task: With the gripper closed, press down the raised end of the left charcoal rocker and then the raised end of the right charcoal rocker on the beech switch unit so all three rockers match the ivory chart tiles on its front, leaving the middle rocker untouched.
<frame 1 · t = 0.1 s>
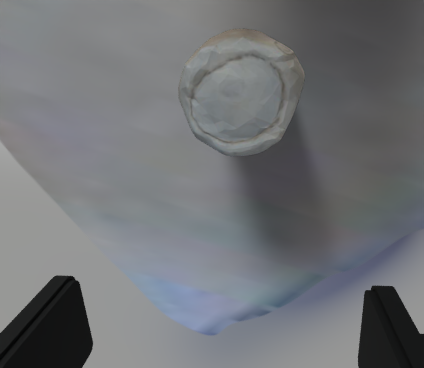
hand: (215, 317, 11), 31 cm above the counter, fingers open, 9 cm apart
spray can: (249, 73, 38), on the counter
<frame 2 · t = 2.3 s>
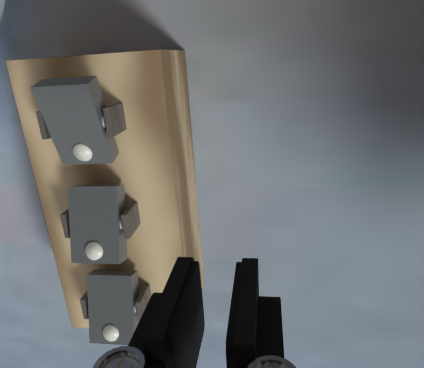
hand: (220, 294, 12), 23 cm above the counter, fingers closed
rocker middle: (97, 223, 28), point 10 cm above the counter, hinge at 16.0°
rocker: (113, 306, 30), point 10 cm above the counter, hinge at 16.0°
switch unit: (139, 180, 37), on the counter
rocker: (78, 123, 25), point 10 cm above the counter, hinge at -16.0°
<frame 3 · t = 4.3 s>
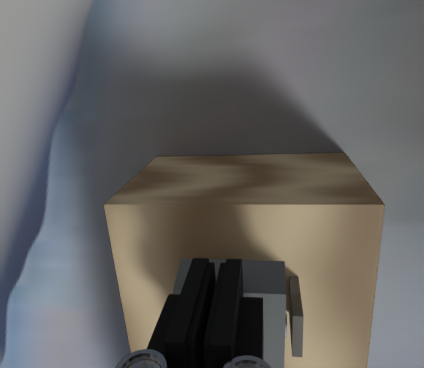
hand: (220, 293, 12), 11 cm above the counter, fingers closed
switch unit: (251, 314, 27), on the counter
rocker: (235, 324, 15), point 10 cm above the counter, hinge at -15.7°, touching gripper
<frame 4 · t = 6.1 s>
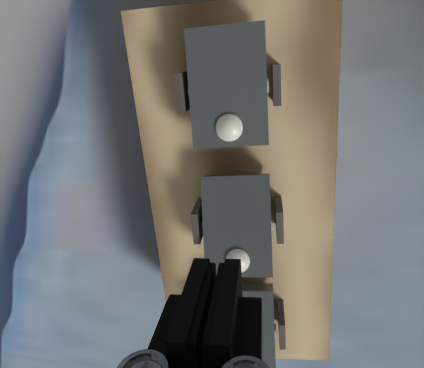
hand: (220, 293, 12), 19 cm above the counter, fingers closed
rocker middle: (237, 224, 21), point 10 cm above the counter, hinge at 16.0°
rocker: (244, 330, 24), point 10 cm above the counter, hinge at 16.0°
switch unit: (245, 172, 30), on the counter
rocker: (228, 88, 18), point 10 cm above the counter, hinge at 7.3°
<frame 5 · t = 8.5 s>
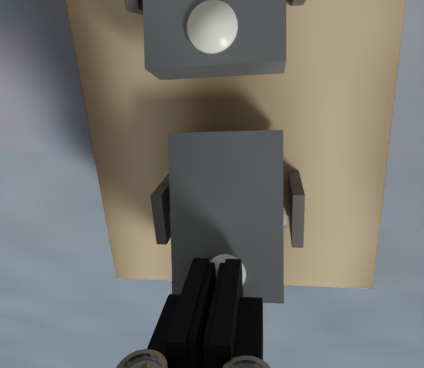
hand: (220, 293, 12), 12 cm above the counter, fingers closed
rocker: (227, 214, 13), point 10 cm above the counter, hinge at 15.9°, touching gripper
switch unit: (240, 7, 20), on the counter
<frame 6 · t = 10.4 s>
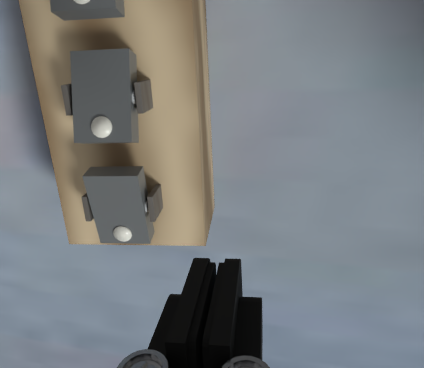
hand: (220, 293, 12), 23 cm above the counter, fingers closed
rocker middle: (105, 98, 24), point 10 cm above the counter, hinge at 16.0°
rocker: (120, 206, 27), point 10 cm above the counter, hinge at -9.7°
switch unit: (145, 85, 33), on the counter
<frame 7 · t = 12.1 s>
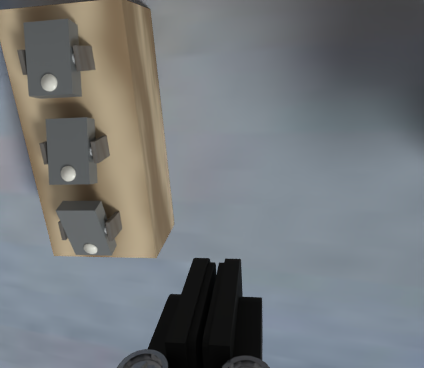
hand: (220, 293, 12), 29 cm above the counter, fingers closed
rocker middle: (71, 151, 32), point 10 cm above the counter, hinge at 16.0°
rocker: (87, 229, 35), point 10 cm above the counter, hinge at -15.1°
switch unit: (114, 129, 42), on the counter
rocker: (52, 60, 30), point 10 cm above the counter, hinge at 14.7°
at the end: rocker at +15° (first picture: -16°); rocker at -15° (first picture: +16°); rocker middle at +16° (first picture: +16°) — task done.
